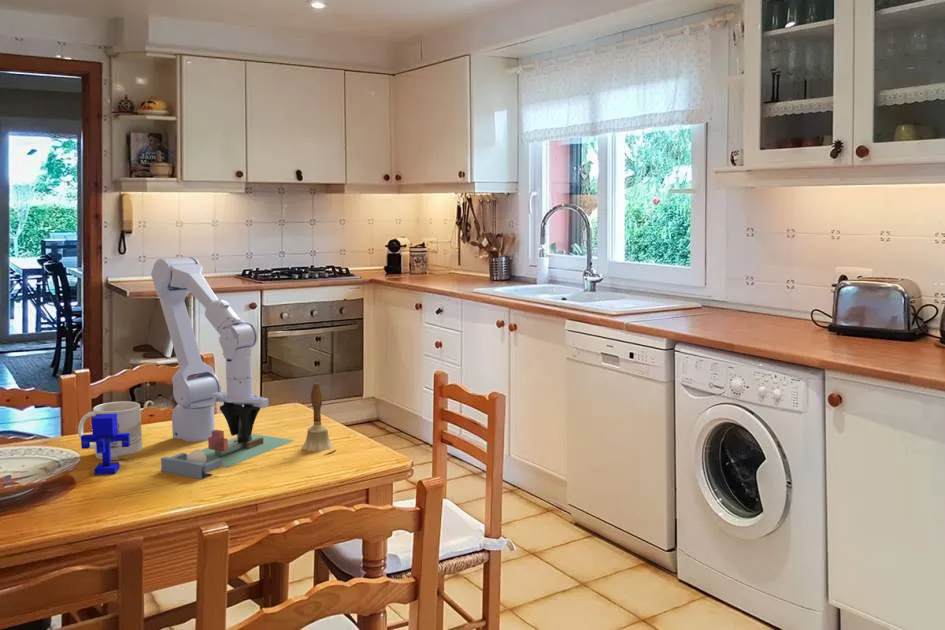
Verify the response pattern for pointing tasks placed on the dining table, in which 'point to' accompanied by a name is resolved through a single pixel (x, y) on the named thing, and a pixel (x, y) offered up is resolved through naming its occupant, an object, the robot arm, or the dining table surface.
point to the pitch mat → (246, 450)
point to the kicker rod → (221, 443)
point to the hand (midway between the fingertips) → (241, 435)
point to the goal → (188, 466)
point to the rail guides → (253, 442)
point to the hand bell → (317, 426)
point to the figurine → (105, 441)
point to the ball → (197, 456)
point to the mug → (119, 426)
